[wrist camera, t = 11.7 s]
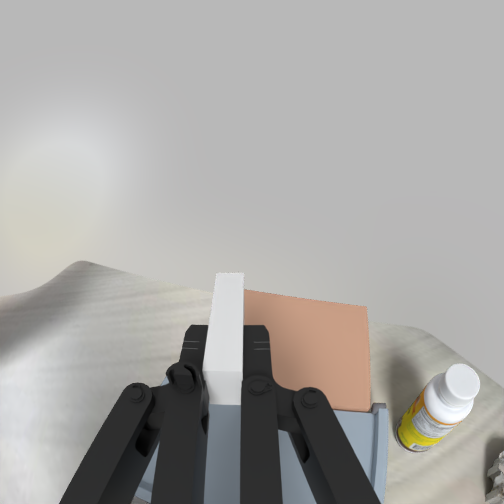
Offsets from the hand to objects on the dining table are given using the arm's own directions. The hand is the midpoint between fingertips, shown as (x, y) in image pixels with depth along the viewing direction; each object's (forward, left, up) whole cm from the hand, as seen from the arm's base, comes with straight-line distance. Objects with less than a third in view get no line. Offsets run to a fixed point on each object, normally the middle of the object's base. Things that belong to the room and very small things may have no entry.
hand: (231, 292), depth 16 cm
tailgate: (+3, +2, -14) cm, 14 cm away
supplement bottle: (+19, +1, -18) cm, 26 cm away
